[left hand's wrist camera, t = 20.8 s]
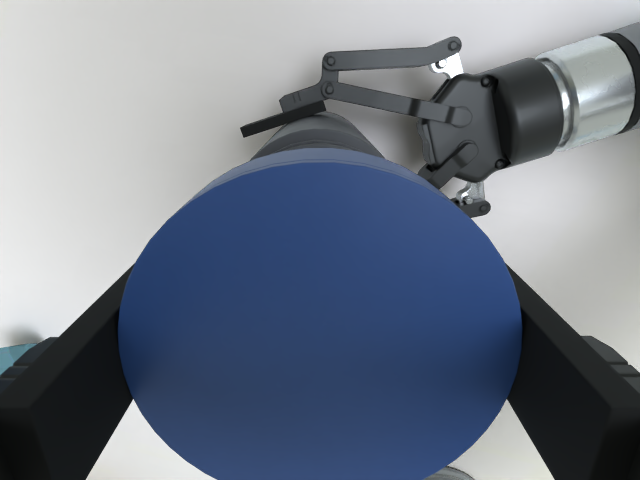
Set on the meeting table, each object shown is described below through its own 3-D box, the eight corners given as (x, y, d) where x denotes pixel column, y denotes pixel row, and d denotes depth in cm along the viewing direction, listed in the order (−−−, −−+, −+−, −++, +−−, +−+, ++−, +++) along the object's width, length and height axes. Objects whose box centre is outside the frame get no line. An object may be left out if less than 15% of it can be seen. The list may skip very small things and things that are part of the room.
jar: (344, 92, 37) (369, 96, 19) (384, 187, 40) (439, 270, 22) (250, 138, 38) (187, 184, 20) (295, 227, 41) (277, 337, 23)
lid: (125, 402, 14) (91, 457, 12) (189, 92, 10) (157, 94, 8) (410, 473, 15) (424, 534, 13) (554, 215, 11) (604, 244, 9)
